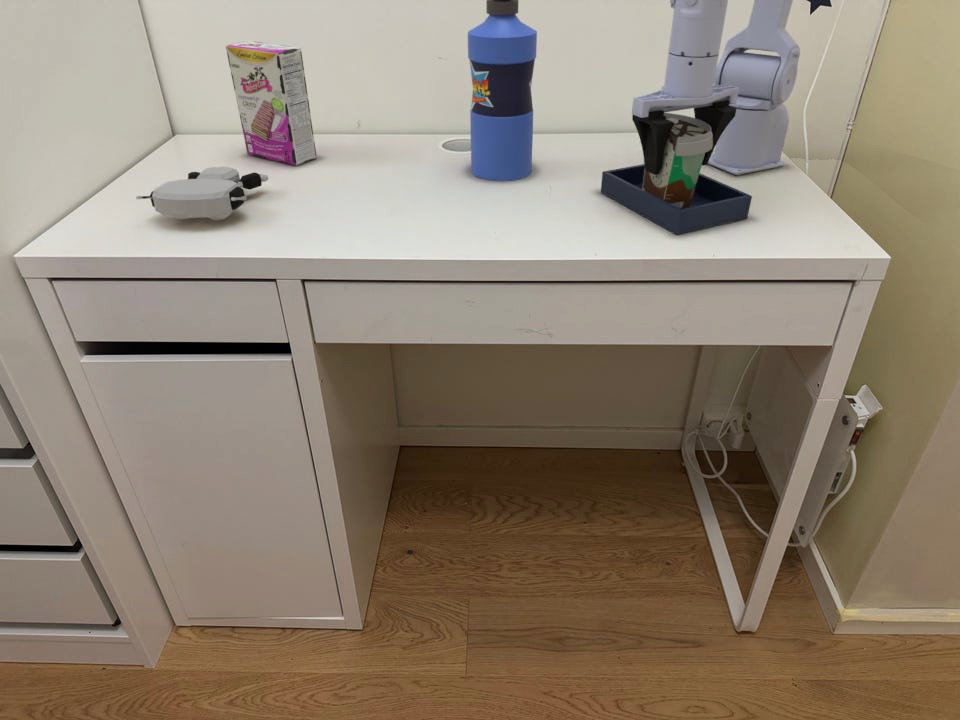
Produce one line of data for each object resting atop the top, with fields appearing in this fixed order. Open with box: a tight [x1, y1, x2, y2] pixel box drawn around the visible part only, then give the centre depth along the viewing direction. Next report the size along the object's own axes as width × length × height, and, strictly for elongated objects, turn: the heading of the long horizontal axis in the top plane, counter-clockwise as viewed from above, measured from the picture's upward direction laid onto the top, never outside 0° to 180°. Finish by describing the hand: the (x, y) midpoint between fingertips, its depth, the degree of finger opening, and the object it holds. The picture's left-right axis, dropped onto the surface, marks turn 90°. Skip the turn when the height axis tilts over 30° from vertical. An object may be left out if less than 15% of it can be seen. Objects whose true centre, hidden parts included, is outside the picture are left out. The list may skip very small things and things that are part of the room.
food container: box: [642, 112, 713, 209], centre depth 87 cm, size 12×6×10 cm, turn 3°
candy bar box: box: [224, 40, 318, 167], centre depth 105 cm, size 11×5×16 cm, turn 58°
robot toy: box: [135, 166, 269, 221], centre depth 90 cm, size 12×4×15 cm
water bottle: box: [467, 0, 538, 182], centre depth 96 cm, size 9×9×25 cm
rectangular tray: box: [600, 163, 753, 236], centre depth 90 cm, size 11×16×3 cm
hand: (676, 167), depth 88 cm, fingers open, 7 cm apart
